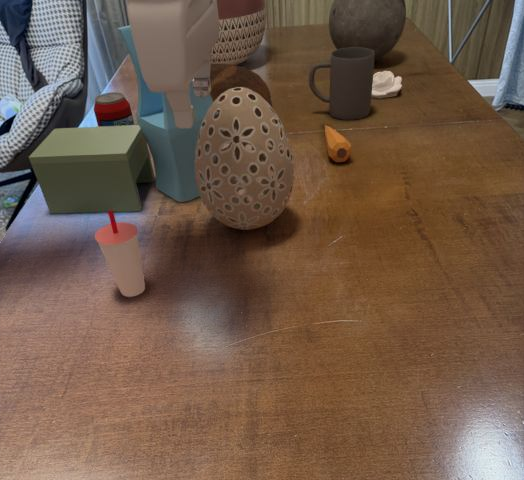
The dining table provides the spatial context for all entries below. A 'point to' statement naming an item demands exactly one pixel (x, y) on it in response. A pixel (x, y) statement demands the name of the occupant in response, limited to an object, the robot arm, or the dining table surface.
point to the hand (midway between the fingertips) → (195, 109)
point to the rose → (385, 84)
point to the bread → (235, 81)
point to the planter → (238, 30)
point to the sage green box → (92, 169)
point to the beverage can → (112, 110)
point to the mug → (348, 82)
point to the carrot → (337, 145)
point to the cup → (122, 255)
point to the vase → (168, 133)
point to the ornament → (243, 161)
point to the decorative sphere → (367, 24)
